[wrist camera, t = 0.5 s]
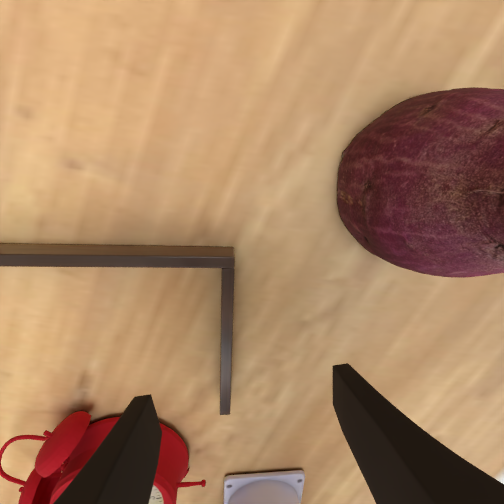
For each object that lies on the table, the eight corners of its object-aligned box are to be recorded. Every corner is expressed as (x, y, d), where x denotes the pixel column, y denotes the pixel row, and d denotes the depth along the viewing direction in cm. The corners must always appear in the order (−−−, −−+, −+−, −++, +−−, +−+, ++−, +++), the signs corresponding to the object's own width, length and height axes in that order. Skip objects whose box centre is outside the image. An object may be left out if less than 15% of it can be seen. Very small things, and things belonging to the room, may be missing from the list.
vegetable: (303, 202, 22) (296, 280, 8) (396, 70, 18) (703, -238, 4) (412, 275, 22) (597, 479, 8) (526, 159, 18) (1255, 160, 4)
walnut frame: (229, 394, 24) (230, 414, 22) (-38, 405, 21) (-63, 429, 19) (233, 246, 19) (234, 256, 17) (-103, 241, 17) (-143, 252, 15)
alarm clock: (165, 555, 24) (-63, 591, 18) (164, 475, 30) (-10, 479, 23) (219, 480, 22) (-25, 489, 15) (207, 408, 27) (24, 390, 20)
